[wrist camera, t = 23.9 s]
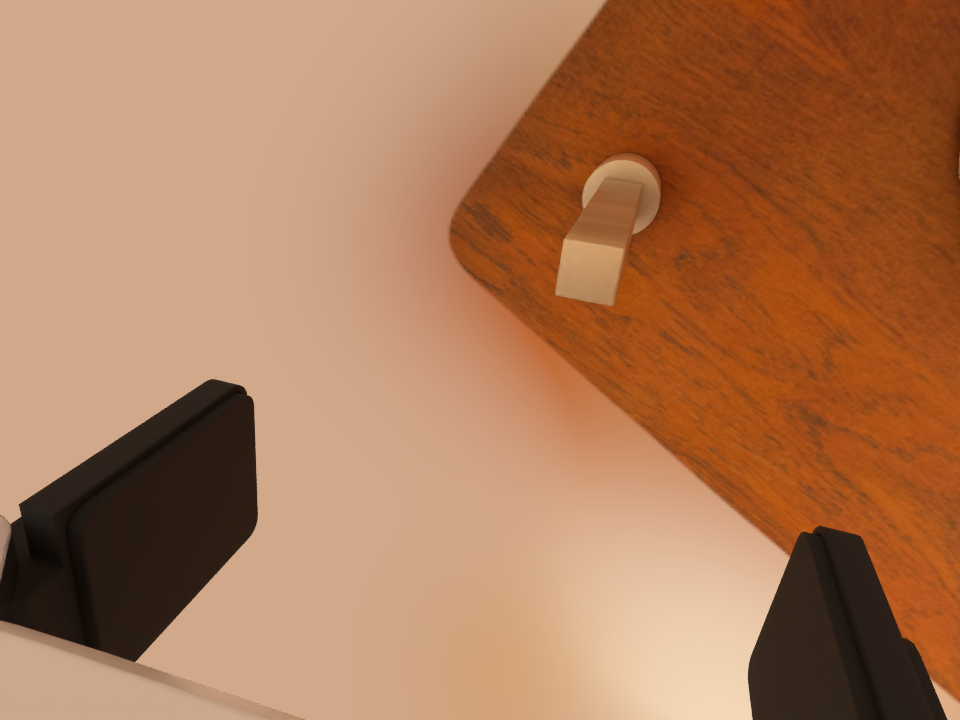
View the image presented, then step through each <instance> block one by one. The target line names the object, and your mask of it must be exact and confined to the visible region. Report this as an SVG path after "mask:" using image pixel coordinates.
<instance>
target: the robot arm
mask: <svg viewBox="0 0 960 720" xmlns="http://www.w3.org/2000/svg"><path fill="white" fill-rule="evenodd" d="M256 481H257V479H256V452H255V422H254V403H253V399H252V398H251V397H250V396H247V392H246V390H245V388H244V387H242V386H240V385H236V384H232V383H227V382H223V381H219V380H215V379H211V380H208V381H206V382H205V383H203V384H202V385H200V386H198V387H197V388H195V389H194V390H192V391H191V392H189V393H188V394H186V395H185V396H183V397H182V398H180V399H179V400H177V401H176V402H174V403H173V404H171V405H170V406H168V407H167V408H165V409H164V410H162V411H160V412H159V413H158V414H156V415H154V416H153V417H151V418H150V419H148V420H147V421H145V422H144V423H142V424H141V425H139V426H138V427H136V428H135V429H133V430H132V431H130V432H128V433H127V434H125V435H124V436H122V437H121V438H119V439H118V440H116V441H115V442H113V443H112V444H110V445H109V446H107V447H106V448H104V449H103V450H101V451H100V452H98V453H97V454H95V455H93V456H92V457H90V458H89V459H87V460H86V461H85V462H83V463H81V464H80V465H78V466H77V467H75V468H74V469H72V470H71V471H69V472H68V473H66V474H65V475H63V476H62V477H60V478H58V479H57V480H55V481H54V482H52V483H51V484H50V485H48V486H46V487H45V488H43V489H42V490H40V491H39V492H37V493H36V494H34V495H33V496H31V497H30V498H28V499H27V500H25V501H24V502H22V503H21V504H19V507H20V511H21V516H22V517H20V518H19V519H17V520H16V521H14V522H13V523H12V524H10V523H9V522H8V521H7V520H6V518H5V517H4V516H1V515H0V720H304V719H301V718H298V717H295V716H293V715H290V714H287V713H284V712H280V711H278V710H275V709H272V708H269V707H266V706H263V705H260V704H257V703H254V702H251V701H249V700H245V699H243V698H240V697H237V696H233V695H231V694H228V693H225V692H221V691H219V690H216V689H213V688H210V687H207V686H204V685H201V684H198V683H195V682H192V681H189V680H186V679H183V678H180V677H177V676H174V675H171V674H168V673H165V672H162V671H159V670H156V669H153V668H150V667H147V666H144V665H141V664H138V663H135V661H137V659H138V658H139V657H140V656H141V655H142V654H143V653H144V652H145V651H146V650H147V649H148V647H149V646H150V645H151V644H152V643H153V642H154V641H155V640H156V639H157V638H158V637H159V635H160V634H161V633H162V632H163V631H164V630H165V629H166V628H167V627H168V626H169V625H170V623H171V622H172V621H173V620H174V619H175V618H176V617H177V616H178V614H180V613H181V611H182V610H183V609H184V608H185V607H186V606H187V605H188V604H189V603H190V602H191V601H192V599H193V598H194V597H195V596H196V595H197V594H198V593H199V592H200V591H201V589H203V587H204V586H205V585H206V584H207V583H208V582H209V581H210V580H211V578H213V577H214V575H215V574H216V573H217V572H218V571H219V570H220V569H221V568H222V567H223V565H225V563H226V562H227V561H228V560H229V559H230V558H231V557H232V556H233V555H234V554H235V553H236V551H237V550H238V549H239V548H240V547H241V546H242V545H243V544H244V543H245V542H246V541H247V539H248V538H249V537H250V536H251V534H252V533H253V531H254V529H255V527H256V523H257V518H258V512H257V511H258V508H257V483H256ZM748 684H749V693H750V701H751V709H752V717H753V720H947V718H946V715H945V713H944V711H943V708H942V706H941V703H940V701H939V699H938V696H937V694H936V692H935V689H934V687H933V684H932V682H931V680H930V677H929V675H928V673H927V670H926V668H925V665H924V663H923V661H922V658H921V656H920V654H919V652H918V650H917V648H916V647H915V645H914V644H913V643H912V642H911V641H909V640H908V639H906V638H902V636H901V633H900V631H899V628H898V626H897V623H896V621H895V618H894V616H893V613H892V611H891V608H890V606H889V604H888V601H887V599H886V596H885V594H884V591H883V589H882V586H881V584H880V581H879V579H878V576H877V574H876V571H875V569H874V566H873V564H872V561H871V559H870V556H869V554H868V552H867V549H866V547H865V544H864V542H863V540H862V538H861V537H860V536H858V535H856V534H851V533H847V532H843V531H839V530H835V529H831V528H827V527H822V526H818V527H816V528H815V530H814V531H813V533H812V534H811V533H807V532H802V533H801V534H800V535H799V537H798V539H797V541H796V544H795V546H794V549H793V551H792V554H791V556H790V559H789V562H788V564H787V567H786V569H785V572H784V574H783V577H782V579H781V582H780V584H779V587H778V589H777V592H776V594H775V597H774V600H773V602H772V604H771V607H770V610H769V612H768V614H767V617H766V620H765V622H764V625H763V627H762V630H761V632H760V635H759V637H758V640H757V642H756V645H755V647H754V650H753V652H752V655H751V658H750V663H749V669H748Z"/></svg>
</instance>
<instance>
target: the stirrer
mask: <svg viewBox="0 0 960 720" xmlns="http://www.w3.org/2000/svg"><path fill="white" fill-rule="evenodd" d="M660 196H661V180H660V176H659V174H658V172H657V170H656V168H655V167H654V166H653V164H652V163H651V162H650V161H648V160H647V159H646V158H644V157H642V156H640V155H637V154H633V153H620V154H616V155H613V156H611V157H609V158H607V159H606V160H604V161H603V162H602V163H601V164H600V165H599V166H598V167H597V168H596V169H595V170H594V172H593V173H592V174H591V175H590V177H589V178H588V180H587V182H586V184H585V186H584V189H583V193H582V206H583V212H582V213H581V215H580V216H579V218H578V219H577V221H576V222H575V224H574V225H573V227H572V228H571V230H570V231H569V233H568V234H567V236H566V237H565V239H564V241H563V247H562V253H561V259H560V265H559V271H558V276H557V282H556V288H555V295H556V296H560V297H566V298H571V299H576V300H581V301H586V302H591V303H597V304H602V305H607V306H613V305H614V301H615V298H616V294H617V290H618V286H619V282H620V279H621V275H622V271H623V267H624V263H625V260H626V256H627V252H628V248H629V245H630V241H631V237H632V235H634V234H637V233H639V232H640V231H642V230H643V229H645V228H646V227H647V226H648V225H649V224H650V223H651V222H652V220H653V219H654V217H655V216H656V213H657V211H658V208H659V204H660Z"/></svg>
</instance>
